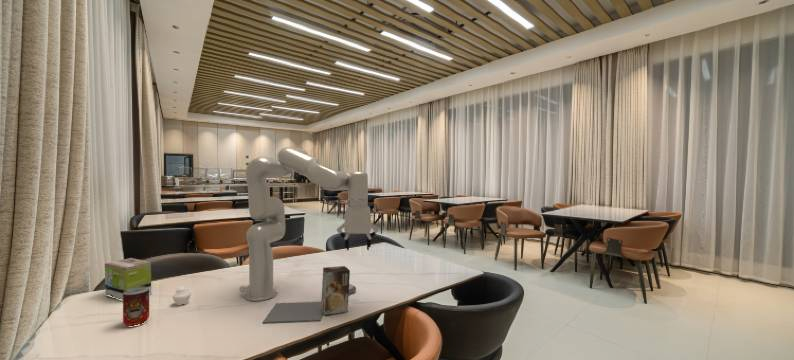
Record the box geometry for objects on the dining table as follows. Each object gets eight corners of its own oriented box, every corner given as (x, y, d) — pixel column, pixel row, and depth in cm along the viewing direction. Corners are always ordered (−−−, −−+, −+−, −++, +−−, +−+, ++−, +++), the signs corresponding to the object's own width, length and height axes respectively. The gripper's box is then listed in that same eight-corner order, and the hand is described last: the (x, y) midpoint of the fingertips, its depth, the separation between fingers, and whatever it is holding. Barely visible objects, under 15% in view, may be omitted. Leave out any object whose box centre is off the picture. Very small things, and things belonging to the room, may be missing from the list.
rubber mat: (262, 323, 108) (262, 321, 108) (276, 304, 124) (276, 303, 124) (320, 321, 110) (320, 319, 110) (326, 302, 126) (326, 301, 126)
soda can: (123, 330, 103) (123, 294, 103) (122, 323, 108) (122, 288, 108) (150, 323, 107) (150, 289, 107) (148, 317, 113) (148, 283, 113)
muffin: (171, 304, 124) (171, 286, 124) (188, 299, 128) (188, 283, 128) (174, 308, 120) (174, 290, 120) (193, 303, 124) (193, 286, 124)
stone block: (322, 300, 133) (337, 301, 128) (321, 288, 134) (336, 289, 128) (342, 292, 143) (358, 293, 137) (341, 282, 144) (356, 282, 138)
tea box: (104, 297, 131) (103, 262, 130) (131, 289, 140) (131, 257, 140) (124, 303, 125) (124, 266, 125) (152, 294, 134) (152, 260, 134)
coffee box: (343, 305, 123) (345, 265, 123) (348, 312, 117) (350, 270, 117) (320, 308, 119) (322, 267, 119) (324, 315, 113) (326, 272, 113)
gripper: (334, 204, 114) (334, 252, 114) (380, 204, 116) (380, 251, 116) (336, 202, 121) (336, 247, 122) (380, 202, 123) (379, 246, 123)
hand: (357, 249), depth 119 cm, fingers open, 7 cm apart
